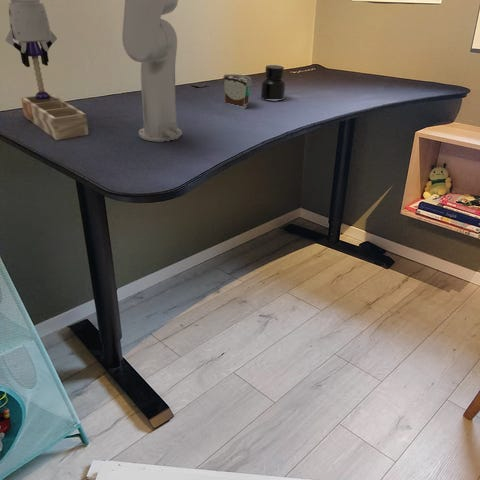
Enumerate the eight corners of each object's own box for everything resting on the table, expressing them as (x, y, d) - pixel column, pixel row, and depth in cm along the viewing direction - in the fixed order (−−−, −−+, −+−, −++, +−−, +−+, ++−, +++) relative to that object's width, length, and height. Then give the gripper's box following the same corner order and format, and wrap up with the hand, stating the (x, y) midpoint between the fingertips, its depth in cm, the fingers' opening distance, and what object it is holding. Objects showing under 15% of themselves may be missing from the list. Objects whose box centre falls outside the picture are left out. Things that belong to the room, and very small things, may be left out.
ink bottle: (288, 99, 183) (291, 67, 177) (276, 103, 177) (279, 70, 171) (268, 94, 188) (270, 63, 182) (255, 98, 182) (257, 66, 176)
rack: (88, 134, 137) (86, 114, 134) (54, 140, 132) (51, 119, 129) (54, 112, 154) (51, 93, 151) (23, 116, 149) (19, 97, 146)
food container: (257, 106, 172) (259, 78, 167) (246, 109, 168) (247, 81, 163) (233, 99, 179) (234, 72, 174) (222, 102, 175) (222, 74, 170)
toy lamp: (40, 100, 143) (30, 42, 134) (30, 98, 145) (20, 40, 136) (53, 97, 146) (44, 40, 138) (43, 95, 148) (34, 38, 140)
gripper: (-4, -2, 124) (10, 70, 133) (59, -2, 133) (68, 65, 143) (-12, -4, 129) (2, 65, 138) (50, -4, 138) (59, 61, 148)
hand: (36, 64), depth 140 cm, fingers closed on toy lamp, 4 cm apart
